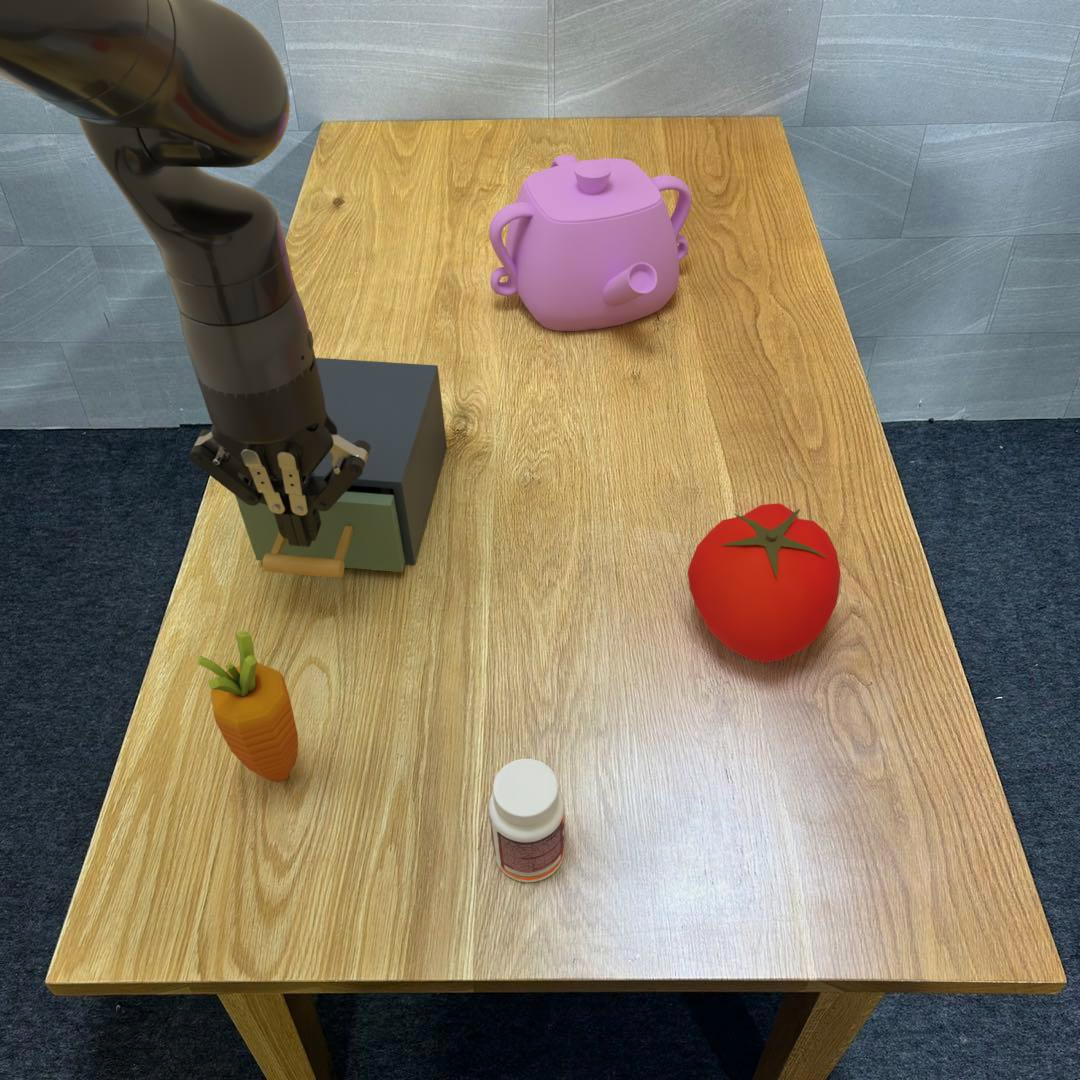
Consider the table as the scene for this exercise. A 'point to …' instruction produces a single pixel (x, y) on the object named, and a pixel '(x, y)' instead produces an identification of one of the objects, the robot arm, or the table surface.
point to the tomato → (765, 582)
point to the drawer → (333, 536)
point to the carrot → (254, 713)
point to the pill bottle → (527, 820)
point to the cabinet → (390, 433)
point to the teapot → (591, 243)
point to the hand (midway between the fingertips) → (303, 538)
